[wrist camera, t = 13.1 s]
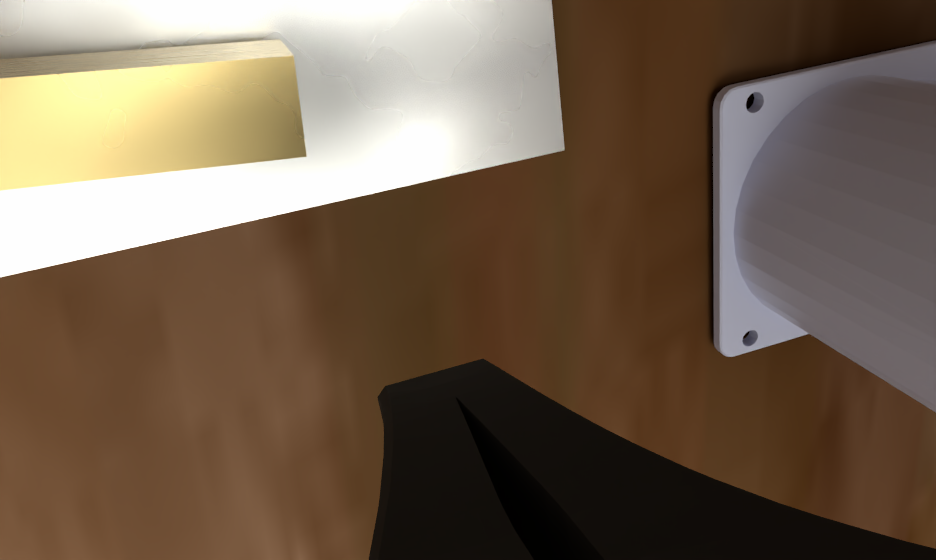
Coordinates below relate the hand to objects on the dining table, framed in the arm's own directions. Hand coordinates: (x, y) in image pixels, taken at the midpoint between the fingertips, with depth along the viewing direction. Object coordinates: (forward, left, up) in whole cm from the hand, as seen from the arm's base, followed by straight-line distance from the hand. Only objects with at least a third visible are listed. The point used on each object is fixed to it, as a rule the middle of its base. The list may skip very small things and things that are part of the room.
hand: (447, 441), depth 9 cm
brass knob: (+4, -4, -9) cm, 11 cm away
